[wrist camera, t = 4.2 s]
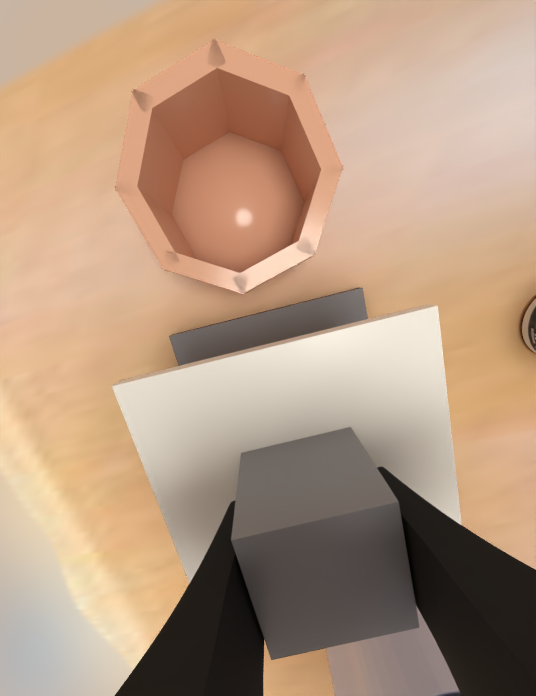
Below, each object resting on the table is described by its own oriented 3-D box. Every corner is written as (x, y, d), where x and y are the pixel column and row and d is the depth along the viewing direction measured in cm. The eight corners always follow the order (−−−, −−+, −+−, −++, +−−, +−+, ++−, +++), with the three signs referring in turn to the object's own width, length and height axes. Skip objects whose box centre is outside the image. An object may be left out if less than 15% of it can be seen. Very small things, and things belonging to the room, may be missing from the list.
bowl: (286, 304, 17) (296, 311, 12) (149, 261, 16) (103, 251, 12) (333, 157, 16) (366, 98, 11) (183, 102, 15) (145, 11, 10)
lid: (456, 555, 12) (554, 690, 8) (209, 610, 12) (184, 767, 8) (426, 304, 10) (545, 317, 6) (120, 380, 10) (25, 444, 6)
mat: (388, 456, 20) (391, 460, 19) (224, 494, 20) (223, 499, 20) (359, 287, 17) (362, 287, 17) (171, 334, 17) (169, 336, 17)
